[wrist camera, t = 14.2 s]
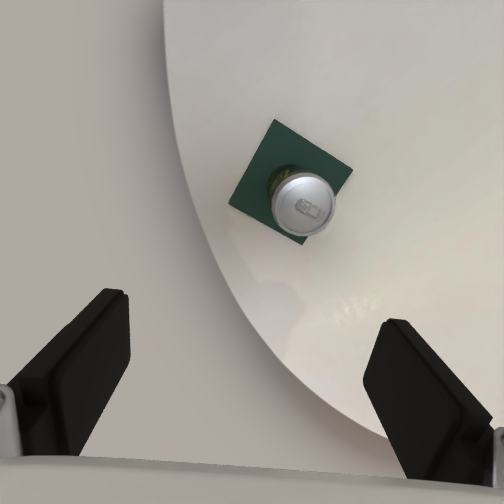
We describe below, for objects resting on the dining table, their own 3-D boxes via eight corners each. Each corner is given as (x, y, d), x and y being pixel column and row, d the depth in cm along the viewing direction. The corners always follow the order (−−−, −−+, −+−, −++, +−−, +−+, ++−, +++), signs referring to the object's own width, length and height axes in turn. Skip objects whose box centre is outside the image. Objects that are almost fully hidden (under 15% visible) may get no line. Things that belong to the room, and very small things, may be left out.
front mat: (228, 202, 35) (228, 203, 35) (274, 119, 32) (274, 118, 31) (301, 244, 37) (302, 245, 37) (352, 169, 34) (353, 169, 33)
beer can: (319, 177, 34) (351, 193, 22) (296, 216, 35) (315, 249, 24) (280, 155, 33) (293, 160, 22) (258, 196, 35) (260, 221, 23)
